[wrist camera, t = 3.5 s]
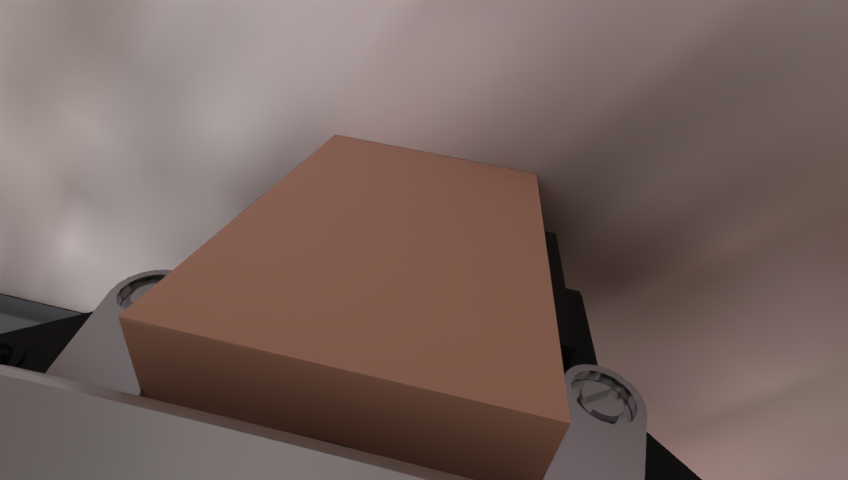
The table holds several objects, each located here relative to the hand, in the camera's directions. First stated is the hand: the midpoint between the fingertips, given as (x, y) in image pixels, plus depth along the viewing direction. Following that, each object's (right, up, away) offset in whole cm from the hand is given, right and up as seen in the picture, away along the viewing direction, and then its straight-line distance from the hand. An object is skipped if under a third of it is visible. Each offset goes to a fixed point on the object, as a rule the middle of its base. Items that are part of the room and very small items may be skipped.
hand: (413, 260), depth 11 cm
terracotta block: (0, +1, +1) cm, 1 cm away
